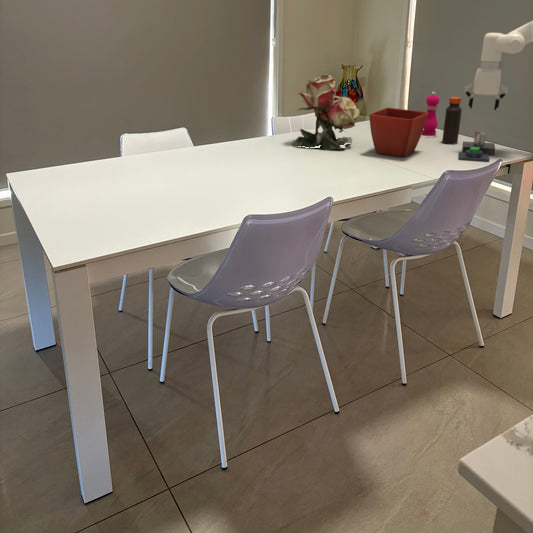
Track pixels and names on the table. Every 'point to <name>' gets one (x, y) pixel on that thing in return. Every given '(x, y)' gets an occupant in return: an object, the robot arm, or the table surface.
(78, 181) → the table surface
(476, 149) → the start button
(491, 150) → the dial panel
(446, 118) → the bottle
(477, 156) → the housing
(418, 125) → the flower pot
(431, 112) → the pepper mill
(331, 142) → the rose bouquet
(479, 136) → the program dial
